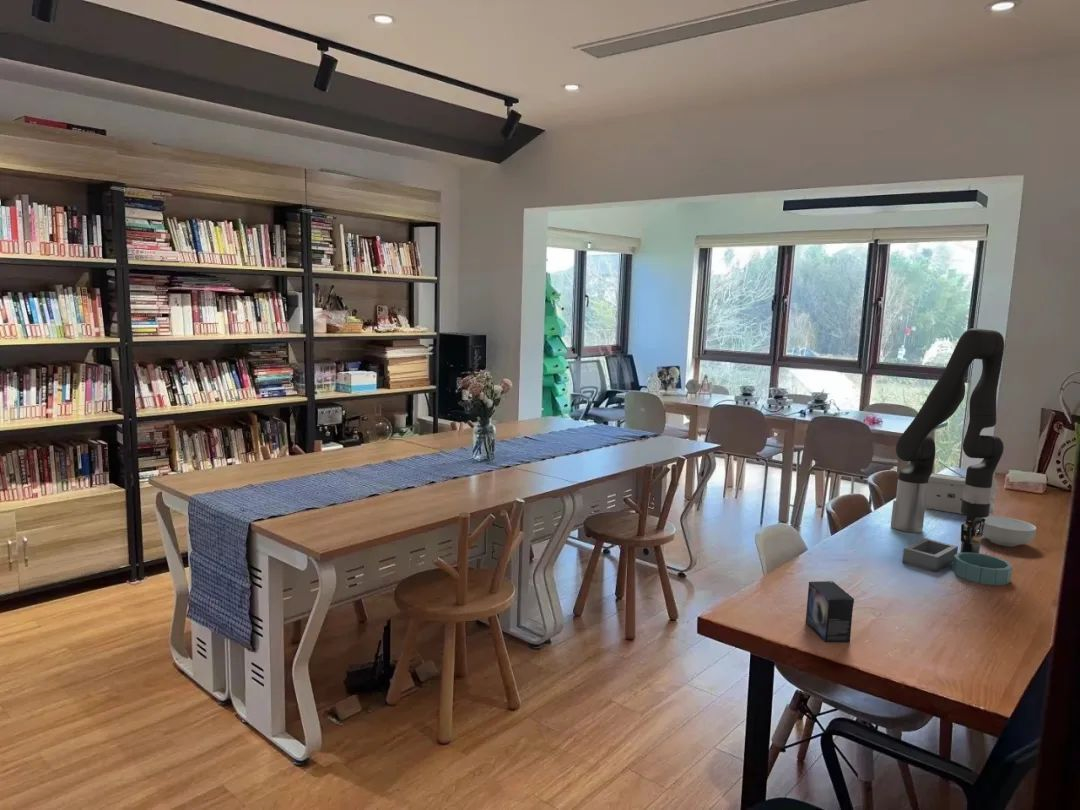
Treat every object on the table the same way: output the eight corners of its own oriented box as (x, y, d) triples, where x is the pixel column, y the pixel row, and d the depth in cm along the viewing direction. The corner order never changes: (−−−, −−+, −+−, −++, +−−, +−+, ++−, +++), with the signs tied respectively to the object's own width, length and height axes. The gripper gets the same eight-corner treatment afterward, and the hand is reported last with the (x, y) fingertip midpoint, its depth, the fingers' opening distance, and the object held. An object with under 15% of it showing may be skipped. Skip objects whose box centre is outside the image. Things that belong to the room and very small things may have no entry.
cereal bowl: (1043, 553, 234) (1046, 532, 233) (985, 548, 238) (988, 527, 237) (1020, 537, 251) (1023, 517, 250) (966, 532, 254) (969, 512, 253)
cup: (945, 573, 213) (947, 558, 212) (963, 563, 222) (964, 549, 222) (1000, 589, 203) (1002, 573, 202) (1016, 577, 212) (1018, 562, 211)
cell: (957, 556, 228) (960, 531, 227) (963, 553, 232) (966, 528, 231) (975, 561, 225) (978, 536, 224) (981, 557, 228) (984, 532, 227)
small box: (803, 622, 177) (807, 580, 175) (829, 622, 177) (833, 580, 176) (823, 642, 166) (827, 598, 165) (851, 642, 167) (855, 598, 165)
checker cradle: (902, 562, 221) (903, 548, 220) (923, 551, 232) (925, 538, 231) (936, 572, 214) (937, 557, 213) (956, 560, 225) (958, 546, 224)
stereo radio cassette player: (984, 514, 278) (991, 462, 275) (983, 519, 272) (990, 466, 269) (922, 504, 289) (928, 454, 287) (920, 508, 283) (926, 457, 280)
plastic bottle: (996, 527, 261) (1003, 472, 258) (975, 525, 262) (982, 470, 260) (989, 522, 267) (996, 468, 265) (968, 520, 269) (975, 466, 266)
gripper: (971, 493, 233) (964, 545, 236) (954, 500, 224) (947, 554, 226) (997, 498, 228) (991, 551, 230) (981, 506, 218) (974, 561, 221)
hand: (969, 552), depth 228 cm, fingers closed on cell, 5 cm apart
